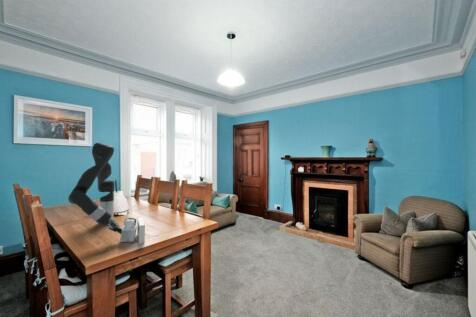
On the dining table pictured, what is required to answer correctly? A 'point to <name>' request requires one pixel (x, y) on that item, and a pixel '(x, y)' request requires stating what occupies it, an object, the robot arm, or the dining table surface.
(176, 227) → the dining table surface
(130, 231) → the container
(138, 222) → the plate
